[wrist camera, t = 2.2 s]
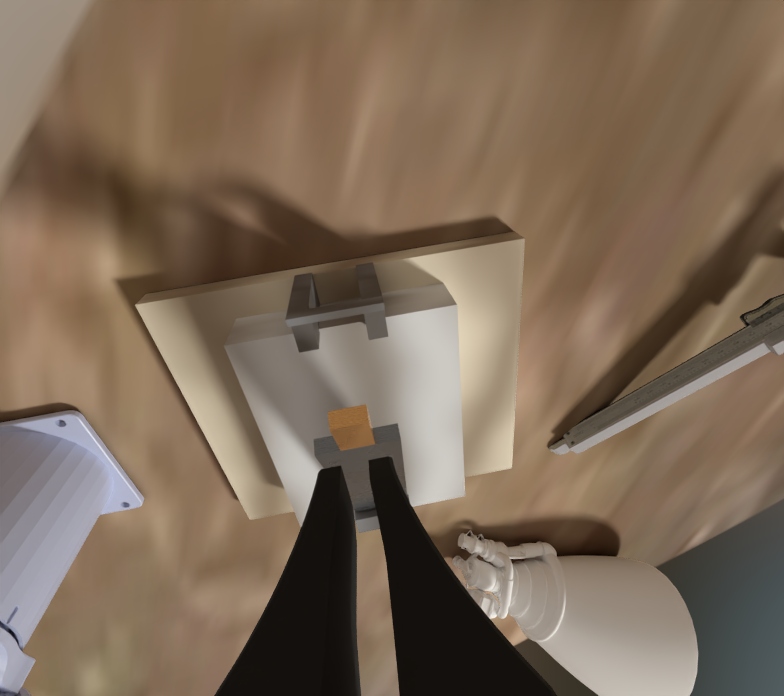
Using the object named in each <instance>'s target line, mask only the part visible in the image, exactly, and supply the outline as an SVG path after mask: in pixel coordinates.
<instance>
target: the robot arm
mask: <svg viewBox="0 0 784 696" xmlns="http://www.w3.org/2000/svg"><path fill="white" fill-rule="evenodd" d="M61 420H63V421H65V422H63V421H61ZM368 461H369V476H370V484H371V489H372V494H373V498H374V503H375V508H376V512H377V517H378V521H379V526H380V531H381V535H382V540H383V544H384V550H385V556H386V562H387V571H388V581H389V590H390V599H391V609H392V619H393V629H394V639H395V650H396V660H397V671H398V681H399V692H400V696H557V695H556V694H555V692H554V690H553V689H552V688H551V686H550V685H549V684H548V683H547V682H546V681H545V680H544V679H543V678H542V677H541V676H540V675H539V673H538V672H537V671H536V670H535V669H534V668H533V667H532V666H531V665H530V664H529V663H528V662H527V661H526V660H525V659H524V657H522V655H521V654H520V653H519V652H518V651H517V650H516V649H515V648H514V646H513V645H512V644H511V643H510V642H509V641H508V640H507V639H506V637H505V636H504V635H503V634H502V633H501V632H500V631H499V629H498V628H497V627H496V626H495V625H494V623H493V622H492V621H491V620H490V619H489V617H488V616H487V615H486V614H485V613H484V611H483V610H482V609H481V608H480V606H479V605H478V604H477V603H476V602H475V600H474V599H473V598H472V597H471V595H470V594H469V593H468V591H467V590H466V589H465V587H464V586H463V585H462V583H461V582H460V581H459V580H458V578H457V577H456V575H455V574H454V573H453V571H452V570H451V568H450V567H449V566H448V564H447V563H446V561H445V560H444V558H443V557H442V556H441V554H440V553H439V551H438V549H437V548H436V546H435V545H434V543H433V542H432V540H431V539H430V537H429V535H428V534H427V532H426V530H425V529H424V527H423V525H422V524H421V522H420V520H419V518H418V517H417V515H416V513H415V511H414V509H413V507H412V506H411V504H410V502H409V500H408V498H407V496H406V494H405V492H404V489H403V487H402V485H401V483H400V480H399V478H398V475H397V473H396V470H395V466H394V463H393V458H391V457H389V456H387V457H382V458H377V459H371V460H368ZM143 501H144V497H143V496H142V495H141V493H140V492H139V490H138V489H137V488H136V486H135V485H134V484H133V482H132V481H131V480H130V478H129V477H128V476H127V474H126V473H125V472H124V470H123V469H122V467H121V466H120V465H119V463H118V462H117V461H116V459H115V458H114V457H113V455H112V454H111V453H110V451H109V450H108V449H107V447H106V446H105V444H104V443H103V442H102V440H101V439H100V438H99V436H98V435H97V434H96V432H95V431H94V430H93V428H92V427H91V426H90V424H89V423H88V421H87V420H86V419H85V417H84V416H83V415H82V414H81V413H80V412H78V411H74V410H68V411H62V412H57V413H51V414H46V415H40V416H35V417H29V418H24V419H18V420H13V421H7V422H2V423H0V696H31V694H30V693H29V692H28V690H27V689H25V688H23V687H22V685H23V683H24V681H25V679H26V677H27V676H28V674H29V672H30V670H31V668H32V666H33V664H34V662H35V658H33V657H30V656H28V655H26V654H25V653H23V652H22V651H23V649H24V648H25V646H26V644H27V642H28V641H29V639H30V637H31V635H32V633H33V632H34V630H35V628H36V626H37V625H38V623H39V621H40V619H41V618H42V616H43V614H44V612H45V611H46V609H47V607H48V605H49V603H50V602H51V600H52V598H53V596H54V595H55V593H56V591H57V589H58V588H59V586H60V584H61V582H62V581H63V579H64V577H65V575H66V573H67V572H68V570H69V568H70V566H71V565H72V563H73V561H74V559H75V558H76V556H77V554H78V552H79V551H80V549H81V547H82V545H83V543H84V542H85V540H86V538H87V536H88V535H89V533H90V531H91V529H92V528H93V526H94V524H95V522H96V521H97V519H98V517H99V515H102V514H107V513H112V512H117V511H122V510H127V509H133V508H137V507H140V506H141V505H142V503H143ZM356 596H357V540H356V529H355V519H354V509H353V505H352V501H351V498H350V494H349V491H348V487H347V484H346V481H345V477H344V474H343V470H342V467H341V465H340V466H335V467H330V468H325V469H321V470H320V471H319V472H318V475H317V480H316V484H315V487H314V491H313V494H312V498H311V501H310V504H309V507H308V510H307V513H306V516H305V519H304V521H303V524H302V527H301V529H300V532H299V535H298V538H297V540H296V543H295V545H294V548H293V550H292V552H291V555H290V557H289V559H288V562H287V564H286V566H285V569H284V571H283V573H282V575H281V578H280V580H279V582H278V584H277V586H276V588H275V590H274V592H273V594H272V596H271V598H270V600H269V602H268V604H267V606H266V608H265V610H264V612H263V614H262V616H261V618H260V620H259V621H258V623H257V625H256V627H255V629H254V631H253V632H252V634H251V636H250V638H249V640H248V641H247V643H246V645H245V647H244V648H243V650H242V652H241V654H240V655H239V657H238V659H237V660H236V662H235V664H234V665H233V667H232V669H231V670H230V672H229V673H228V675H227V676H226V678H225V680H224V681H223V683H222V684H221V686H220V688H219V689H218V691H217V692H216V694H215V696H361V689H360V676H359V663H358V650H357V628H356Z"/></svg>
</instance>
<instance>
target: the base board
mask: <svg viewBox="0 0 784 696" xmlns="http://www.w3.org/2000/svg"><path fill="white" fill-rule="evenodd" d="M524 244H525V238H524V237H522V236H521V235H519V234H518V233H516V232H509V233H503V234H497V235H491V236H485V237H479V238H473V239H468V240H462V241H456V242H450V243H444V244H438V245H432V246H426V247H420V248H414V249H409V250H403V251H397V252H391V253H385V254H379V255H373V256H367V257H361V258H355V259H350V260H344V261H338V262H332V263H326V264H320V265H314V266H308V267H302V268H296V269H291V270H285V271H279V272H273V273H267V274H261V275H255V276H249V277H243V278H237V279H232V280H226V281H220V282H214V283H208V284H202V285H196V286H190V287H184V288H179V289H173V290H167V291H161V292H155V293H149V294H145V295H144V296H143V297H142V298H141V299H140V300H139V301H138V302H137V303H136V304H135V306H136V308H137V310H138V312H139V313H140V315H141V317H142V319H143V321H144V323H145V325H146V326H147V328H148V330H149V332H150V334H151V336H152V338H153V340H154V341H155V343H156V345H157V347H158V349H159V351H160V353H161V355H162V356H163V358H164V360H165V362H166V364H167V366H168V368H169V370H170V371H171V373H172V375H173V377H174V379H175V381H176V383H177V384H178V386H179V388H180V390H181V392H182V394H183V396H184V398H185V399H186V401H187V403H188V405H189V407H190V409H191V411H192V413H193V414H194V416H195V418H196V420H197V422H198V424H199V426H200V428H201V429H202V431H203V433H204V435H205V437H206V439H207V441H208V442H209V444H210V446H211V448H212V450H213V452H214V454H215V456H216V457H217V459H218V461H219V463H220V465H221V467H222V469H223V471H224V472H225V474H226V476H227V478H228V480H229V482H230V484H231V486H232V487H233V489H234V491H235V493H236V495H237V497H238V499H239V500H240V502H241V504H242V506H243V508H244V510H245V512H246V514H247V515H248V517H249V519H250V520H252V519H257V518H262V517H267V516H272V515H277V514H282V513H288V512H293V511H294V512H295V514H296V517H297V519H298V521H299V524H300V526H301V527H302V524H303V521H304V519H305V516H306V513H307V510H308V507H309V504H310V501H311V498H312V494H313V491H314V487H315V484H316V480H317V475H318V472H319V471H320V470H321V469H324V468H323V467H322V465H321V464H320V463H319V461H318V460H317V458H316V457H315V454H314V440H313V439H317V438H323V437H328V436H332V434H331V432H330V430H329V420H328V411H333V410H339V409H344V408H349V407H355V406H360V405H365V404H366V405H367V409H368V413H369V416H370V420H371V424H372V427H373V428H375V427H380V426H386V425H391V424H396V423H398V427H399V432H400V437H401V444H402V453H403V462H404V471H405V480H406V488H407V497H408V500H409V502H410V504H411V506H412V507H414V506H419V505H423V504H428V503H433V502H438V501H443V500H448V499H453V498H458V497H463V496H465V479H464V477H469V476H474V475H479V474H484V473H489V472H494V471H499V470H504V469H509V468H512V457H513V439H514V421H515V404H516V386H517V368H518V351H519V333H520V315H521V298H522V280H523V262H524ZM354 518H355V521H356V524H357V528H358V531H359V533H361V532H366V531H371V530H376V529H380V526H379V521H378V517H377V512H376V508H374V509H369V510H364V511H359V512H356V511H355V510H354Z"/></svg>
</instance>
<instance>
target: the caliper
mask: <svg viewBox="0 0 784 696" xmlns="http://www.w3.org/2000/svg"><path fill="white" fill-rule="evenodd" d="M740 319H741V320H742V322H743V323H744V324H745V326H746V327H744V328H743V329H741V330H739V331H737V332H736V333H734V334H732V335H730V336H729V337H727V338H725V339H724V340H722V341H720V342H718V343H717V344H715V345H713V346H711V347H710V348H708V349H706V350H705V351H703V352H701V353H699V354H698V355H696V356H694V357H692V358H691V359H689V360H687V361H686V362H684V363H682V364H680V365H679V366H677V367H675V368H673V369H672V370H670V371H668V372H667V373H665V374H663V375H661V376H660V377H658V378H656V379H654V380H653V381H651V382H649V383H647V384H646V385H644V386H642V387H640V388H639V389H637V390H635V391H633V392H632V393H630V394H628V395H626V396H625V397H623V398H621V399H619V400H618V401H616V402H614V403H612V404H611V405H609V406H607V407H605V408H603V409H602V410H600V411H598V412H596V413H595V414H593V415H591V416H589V417H588V418H586V419H584V420H582V421H581V422H579V423H578V424H577V425H576V426H574V427H573V428H572V429H571V430H569V431H568V432H567V433H566V434H565V435H563V437H564V439H562V440H560V441H558V442H556V443H554V444H553V445H551V446H550V447H549V449H550V450H551V451H553V452H554V453H556V454H558V455H559V454H561V455H563V454H565V453H567V452H569V451H570V450H572V451H573V452H575V453H576V454H579V453H580V452H582V451H584V450H586V449H588V448H590V447H592V446H594V445H596V444H598V443H599V442H601V441H603V440H605V439H607V438H609V437H611V436H613V435H615V434H616V433H618V432H620V431H622V430H624V429H626V428H628V427H630V426H632V425H634V424H635V423H637V422H639V421H641V420H643V419H645V418H647V417H649V416H650V415H652V414H654V413H656V412H658V411H660V410H662V409H664V408H665V407H667V406H669V405H671V404H673V403H675V402H677V401H679V400H680V399H682V398H684V397H686V396H688V395H690V394H692V393H694V392H695V391H697V390H699V389H701V388H703V387H705V386H707V385H709V384H710V383H712V382H714V381H716V380H718V379H720V378H722V377H724V376H725V375H727V374H729V373H731V372H733V371H735V370H737V369H738V368H740V367H742V366H744V365H746V364H748V363H750V362H752V361H753V360H755V359H757V358H759V357H761V356H763V355H765V354H767V353H768V352H770V351H772V352H773V353H774V354H777V355H780V354H782V353H784V294H782V295H779V296H776V297H774V298H771V299H769V300H767V301H766V302H765V303H764V304H763V305H762V306H760V307H759V308H757V309H754V310H752V311H749V312H747V313H744V314H742V315H741V316H740Z"/></svg>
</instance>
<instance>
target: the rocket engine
mask: <svg viewBox="0 0 784 696" xmlns="http://www.w3.org/2000/svg"><path fill="white" fill-rule="evenodd" d="M470 531H471V530H470ZM470 531H469V532H470ZM469 532H468V533H469ZM468 533H467V534H468ZM471 533H472V531H471ZM467 534H464V533H461V534H460V536H459V538H458V546H460V547H461V549H462V548H463V547H464V548H467V549H465V550H467V551H468V552H469V553H471V555H470V557H469V558H468V559H467V560H466V561H465V560H463V559H462V558H461V557H460V556H455V557H454V558H453V564H454V566H456V567H457V568H459V569H462V574H463V575H464V578H465V580H466V583H465V589H466V590H467V591H468V593H469V594H470V595H471V597H472V598H473V599H474V600H475V602H476V603H477V604H478V605H479V606H480V608H481V609H482V610H483V611H484V613H485V614H486V615H487V616H488V617H489V619H490V618H495V617H496V616H499V617H500V618H502V619H503V618H505V617H506V616H507V613H508V614H509V615H511V616H512V617H513V618H514V619H515V621H516V623H517V624H518V625H519V626H520V628H521V630H522V632H523V633H524V634H525V635H526V636H527V637H528V638H529V639H531V640H533V641H536V642H537V643H538V644H539V645H540V646H541V647H542V648H543V649H545V651H546V652H548V653H549V654H550V655H551V656H552V657H553V658H554V659H555V660H556V661H558V663H559V664H561V665H562V666H563V667H564V668H565V669H566V670H567V671H569V672H570V673H571V674H572V675H573V676H575V677H576V678H577V679H578V680H580V681H581V682H582V683H583V684H585V685H586V686H587V687H588V688H590V689H591V690H592V691H594V692H595V693H596V694H598V695H599V696H690V694H691V692H692V690H693V687H694V683H695V679H696V674H697V664H698V649H697V640H696V634H695V630H694V626H693V622H692V619H691V616H690V614H689V611H688V609H687V607H686V604H685V602H684V600H683V599H682V597H681V595H680V594H679V592H678V590H677V589H676V587H675V586H674V585H673V584H672V583H671V582H670V580H669V579H668V578H667V577H666V576H665V575H664V574H662V573H661V572H660V571H659V570H658V569H656V568H655V567H653V566H651V565H649V564H647V563H646V562H642V561H639V560H635V559H630V558H623V557H614V556H588V555H580V556H559V557H557V553H556V550H555V549H554V548H553V547H552V546H551V545H550V544H548V543H541V542H540V541H538V542H537V543H525V544H520V545H519V546H513V547H507V546H506V545H505V544H504V543H503V542H494V541H493V540H488V539H484V537H483V536H482V534H480V536H481V538H482V537H483V539H484V540H483V539H482V541H480V540H478V538H479V537H480V536H479V535H477V536H479V537H478V538H477V536H476V535H473V533H472V534H471V537H470V536H467ZM464 548H463V549H464ZM478 555H480V556H481V557H483V559H484V560H485V561H487V562H491V563H492V564H493V565H494V566H495V567H493V566H492V565H490V564H489V563H487V562H484V561H481V560H478V559H477V558H476V557H477V556H478ZM525 558H527V559H526V560H524V561H523V562H522V561H517V562H514V563H513V564H512V562H511V560H510V559H525ZM503 566H504V567H503ZM496 567H497V568H496ZM462 585H463V583H462ZM468 585H469V586H471V587H472V586H473V587H476V588H478V589H472V590H471V589H468ZM463 586H464V585H463ZM483 590H485V591H490V592H492V593H493V595H495V596H496V597H497V598H498V600H499V602H500V604H501V605H500V607H499V603H498V601H497V600H496V599H495V598H494V597H493V596H492V595H490V594H485V592H484V591H483Z"/></svg>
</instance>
